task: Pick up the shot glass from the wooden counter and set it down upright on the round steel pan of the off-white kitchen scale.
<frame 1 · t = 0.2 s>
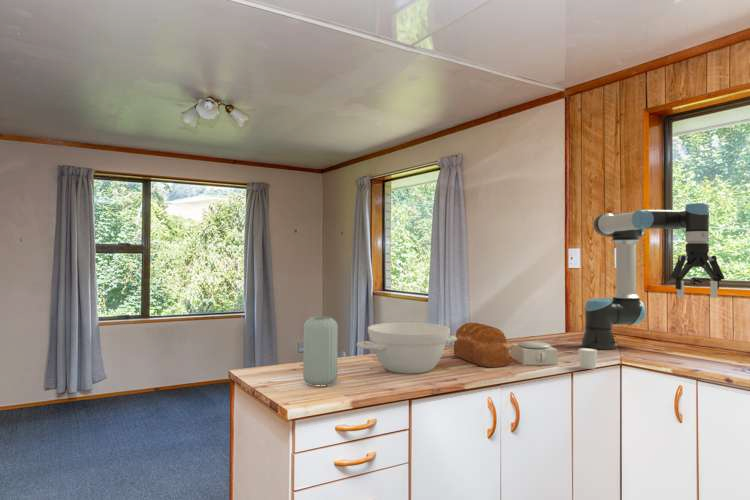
hand: (697, 297, 190), 28 cm above the worktop, fingers open, 13 cm apart
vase: (320, 384, 167), on the worktop
bread: (480, 361, 206), on the worktop
kitchen scale: (533, 361, 205), on the worktop
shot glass: (587, 367, 194), on the worktop
pot: (408, 369, 190), on the worktop
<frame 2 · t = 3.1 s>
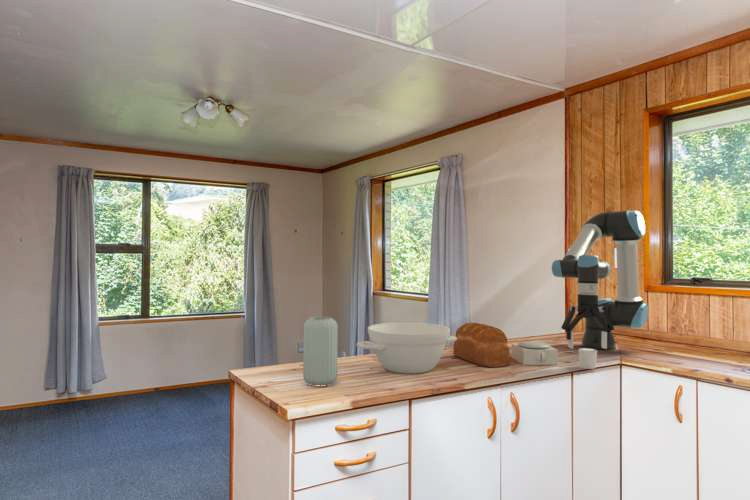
hand: (587, 348, 194), 7 cm above the worktop, fingers open, 13 cm apart
nothing on the worktop moved.
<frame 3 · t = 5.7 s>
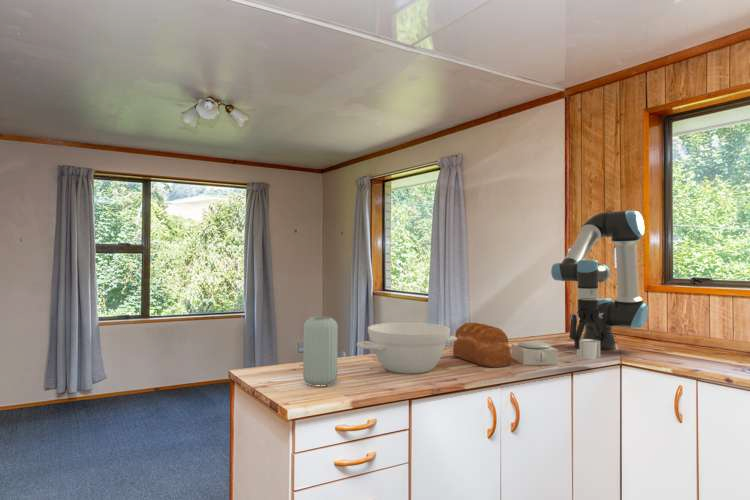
hand: (588, 356, 195), 4 cm above the worktop, fingers closed on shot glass, 7 cm apart
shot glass: (588, 358, 195), point 3 cm above the worktop, touching gripper
everything else where it was.
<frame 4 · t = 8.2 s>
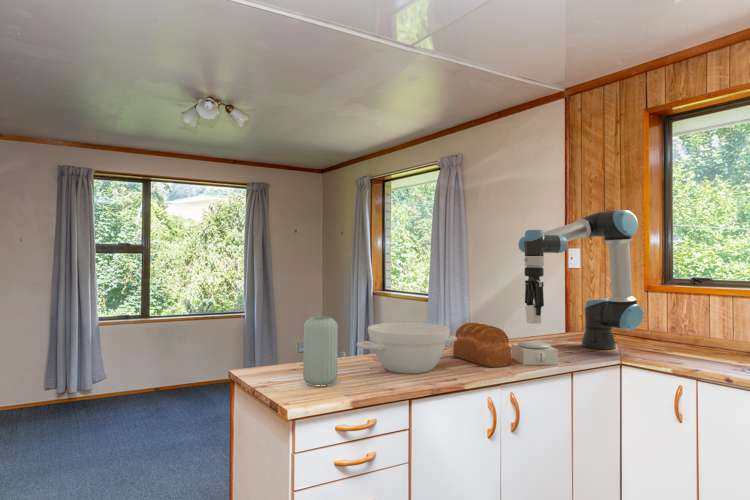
hand: (533, 322, 205), 16 cm above the worktop, fingers closed on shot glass, 7 cm apart
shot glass: (533, 323, 205), point 16 cm above the worktop, touching gripper
everything else where it was.
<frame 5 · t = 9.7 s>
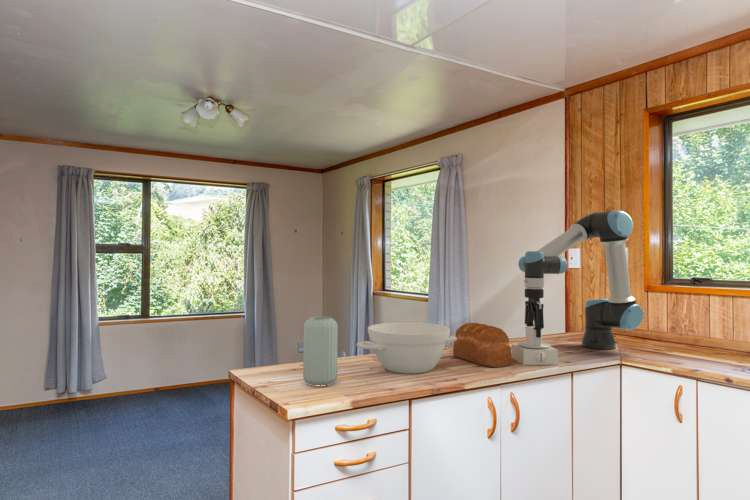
hand: (533, 343, 205), 7 cm above the worktop, fingers closed on kitchen scale, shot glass, 7 cm apart
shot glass: (533, 344, 205), point 7 cm above the worktop, touching gripper, kitchen scale
everything else where it was.
when the fingers open (7 cm above the worktop, at t = 10.6 s): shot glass stays where it is, resting on kitchen scale.
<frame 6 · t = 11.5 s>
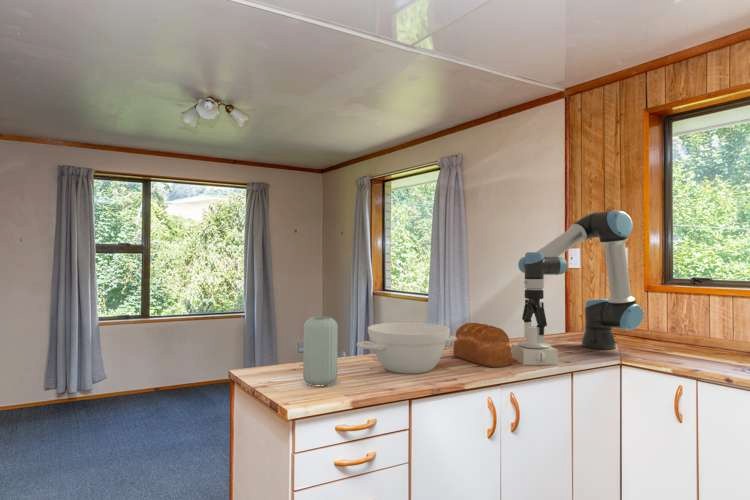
hand: (533, 340, 205), 9 cm above the worktop, fingers open, 13 cm apart
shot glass: (533, 344, 205), point 7 cm above the worktop, touching kitchen scale
everything else where it was.
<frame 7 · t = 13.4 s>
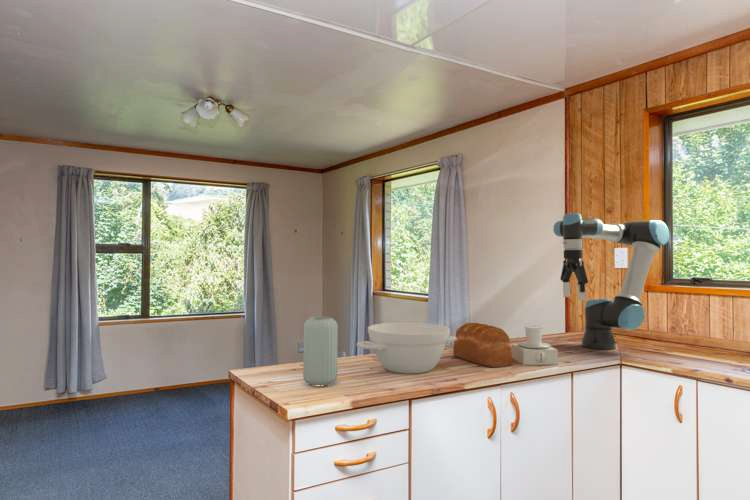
hand: (573, 298, 214), 25 cm above the worktop, fingers open, 13 cm apart
nothing on the worktop moved.
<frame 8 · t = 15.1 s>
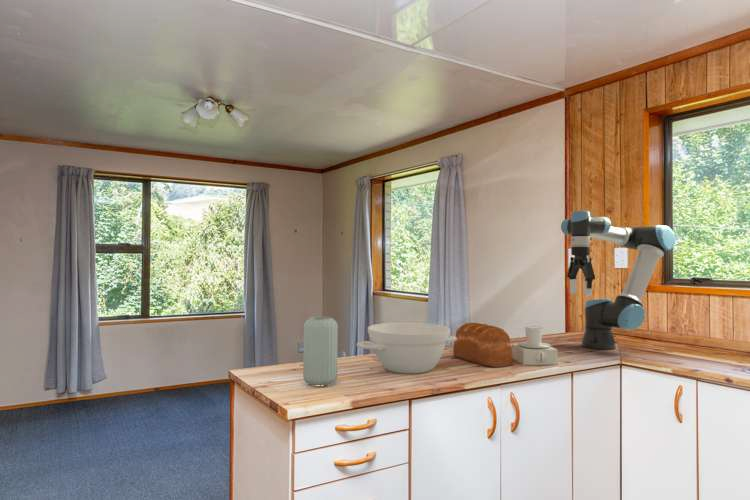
hand: (580, 295, 215), 27 cm above the worktop, fingers open, 13 cm apart
at the end: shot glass inside the target area on the kitchen scale (0.1 cm from its centre), point 6.8 cm above the kitchen scale's base; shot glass tilted 0°; the gripper is holding nothing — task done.
